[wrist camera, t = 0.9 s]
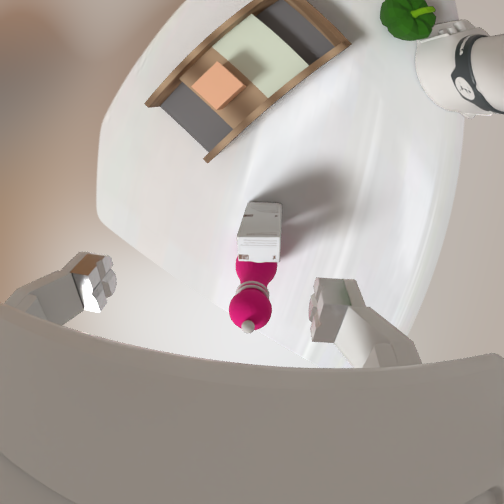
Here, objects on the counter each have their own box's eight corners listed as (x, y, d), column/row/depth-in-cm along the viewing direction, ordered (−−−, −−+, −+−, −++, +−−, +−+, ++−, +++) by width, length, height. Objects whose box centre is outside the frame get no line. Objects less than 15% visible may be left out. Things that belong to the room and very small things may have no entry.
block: (223, 65, 32) (217, 61, 29) (246, 86, 34) (243, 84, 31) (199, 87, 34) (191, 86, 31) (222, 109, 36) (216, 109, 33)
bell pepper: (378, 42, 30) (403, 29, 21) (368, 1, 25) (389, -19, 17) (421, 48, 28) (451, 41, 20) (412, 8, 24) (439, -6, 16)
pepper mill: (231, 249, 52) (208, 327, 35) (259, 227, 49) (248, 302, 32) (256, 274, 54) (246, 354, 37) (285, 254, 51) (286, 334, 34)
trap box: (281, -8, 27) (281, -19, 23) (343, 50, 31) (351, 44, 27) (157, 102, 38) (144, 103, 34) (214, 156, 43) (207, 163, 39)
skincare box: (281, 202, 46) (282, 234, 36) (281, 225, 48) (282, 263, 38) (245, 202, 47) (235, 234, 36) (246, 225, 49) (238, 262, 39)
